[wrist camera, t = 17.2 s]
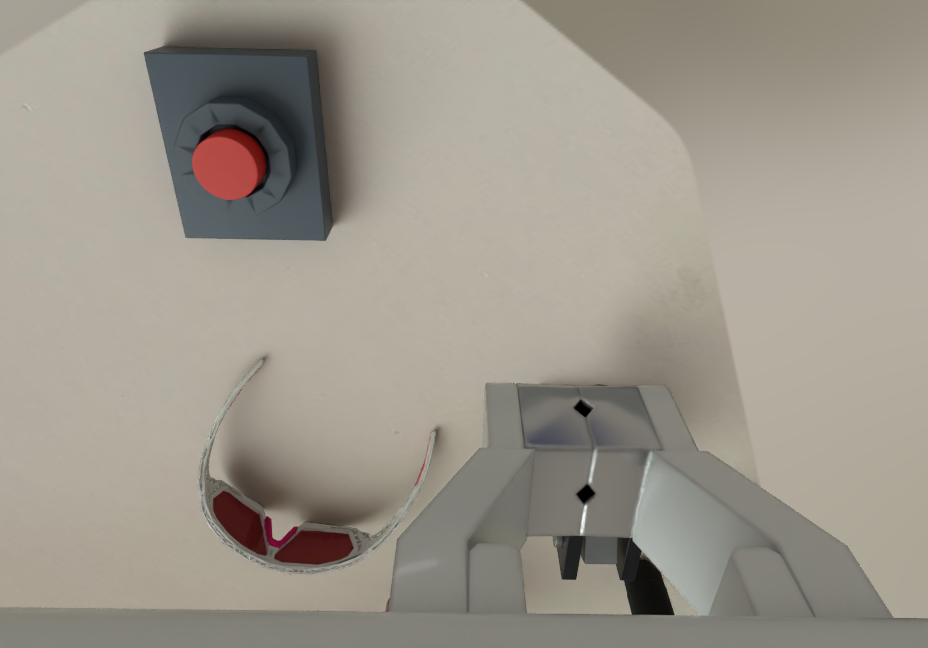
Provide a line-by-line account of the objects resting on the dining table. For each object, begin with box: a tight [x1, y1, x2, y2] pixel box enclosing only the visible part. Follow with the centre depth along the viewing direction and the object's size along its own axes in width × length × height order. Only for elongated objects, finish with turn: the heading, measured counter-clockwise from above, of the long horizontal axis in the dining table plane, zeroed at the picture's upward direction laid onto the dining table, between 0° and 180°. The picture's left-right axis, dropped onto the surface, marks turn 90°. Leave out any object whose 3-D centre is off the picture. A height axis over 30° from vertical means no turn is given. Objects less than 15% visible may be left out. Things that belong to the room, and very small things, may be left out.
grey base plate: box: [144, 47, 333, 241], centre depth 37 cm, size 11×9×4 cm
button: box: [192, 129, 266, 200], centre depth 35 cm, size 4×4×2 cm
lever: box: [581, 384, 618, 564], centre depth 43 cm, size 12×3×3 cm, turn 179°
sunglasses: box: [198, 359, 436, 574], centre depth 52 cm, size 17×17×5 cm
